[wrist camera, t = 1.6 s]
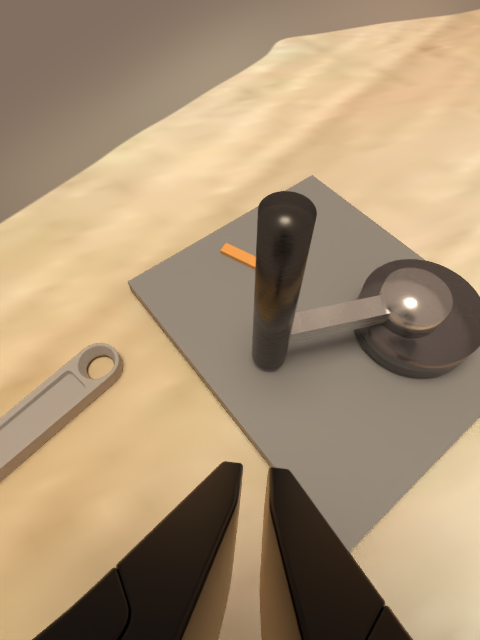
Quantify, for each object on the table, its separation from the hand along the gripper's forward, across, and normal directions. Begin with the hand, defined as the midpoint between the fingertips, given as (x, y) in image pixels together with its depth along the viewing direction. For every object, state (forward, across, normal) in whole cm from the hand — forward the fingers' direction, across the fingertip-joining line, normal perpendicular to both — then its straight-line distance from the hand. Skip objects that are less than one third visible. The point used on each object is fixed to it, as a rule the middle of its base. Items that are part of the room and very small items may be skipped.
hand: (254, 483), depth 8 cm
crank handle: (+16, -6, +1) cm, 17 cm away
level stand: (+18, -4, +1) cm, 19 cm away
